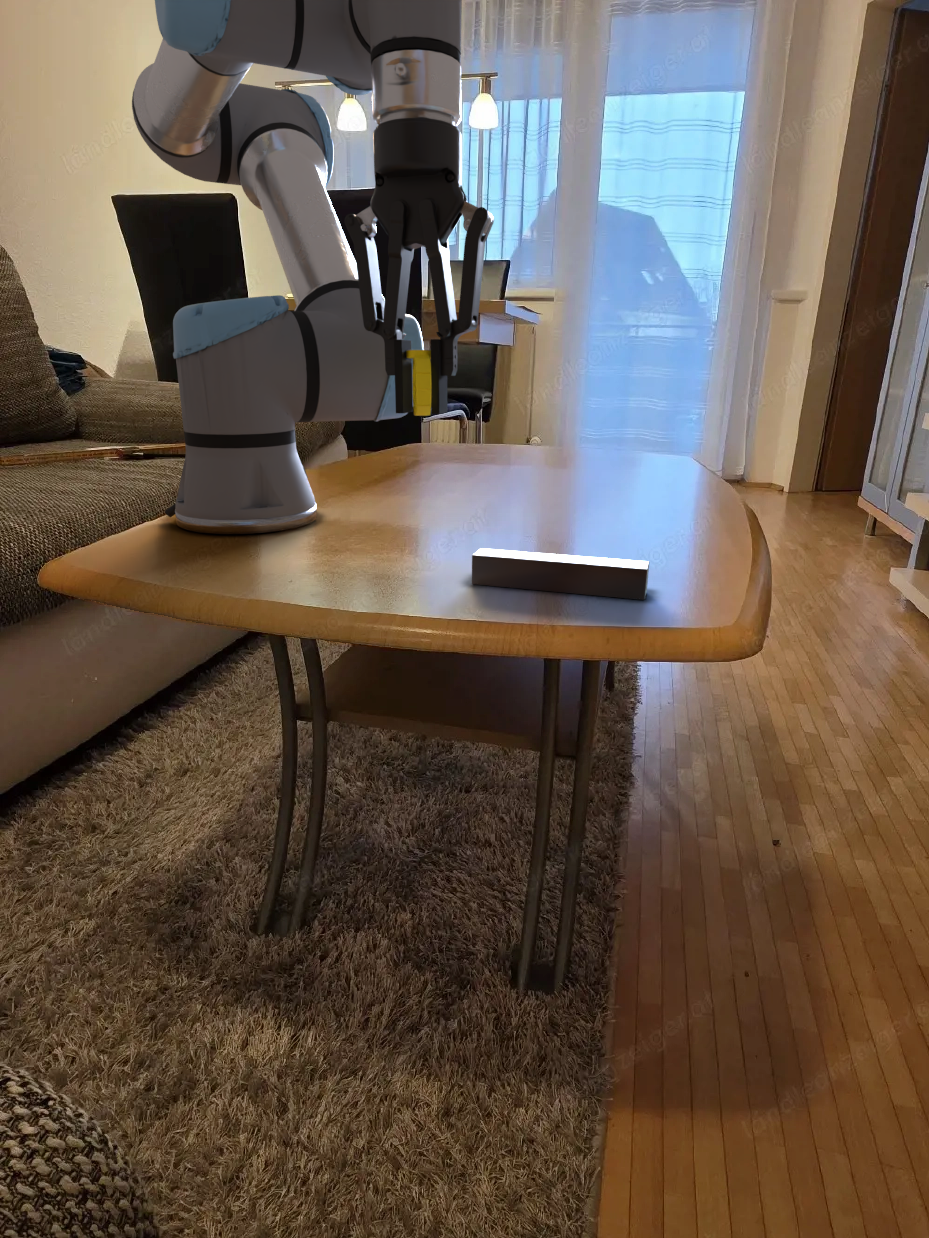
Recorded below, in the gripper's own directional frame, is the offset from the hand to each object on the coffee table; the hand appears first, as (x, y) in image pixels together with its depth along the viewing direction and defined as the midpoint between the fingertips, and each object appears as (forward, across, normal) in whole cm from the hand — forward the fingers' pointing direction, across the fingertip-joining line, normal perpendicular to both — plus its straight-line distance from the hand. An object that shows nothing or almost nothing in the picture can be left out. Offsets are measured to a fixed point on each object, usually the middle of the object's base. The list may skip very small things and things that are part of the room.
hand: (421, 412), depth 72 cm
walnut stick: (+13, +15, -12) cm, 23 cm away
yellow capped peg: (+1, 0, 0) cm, 1 cm away
